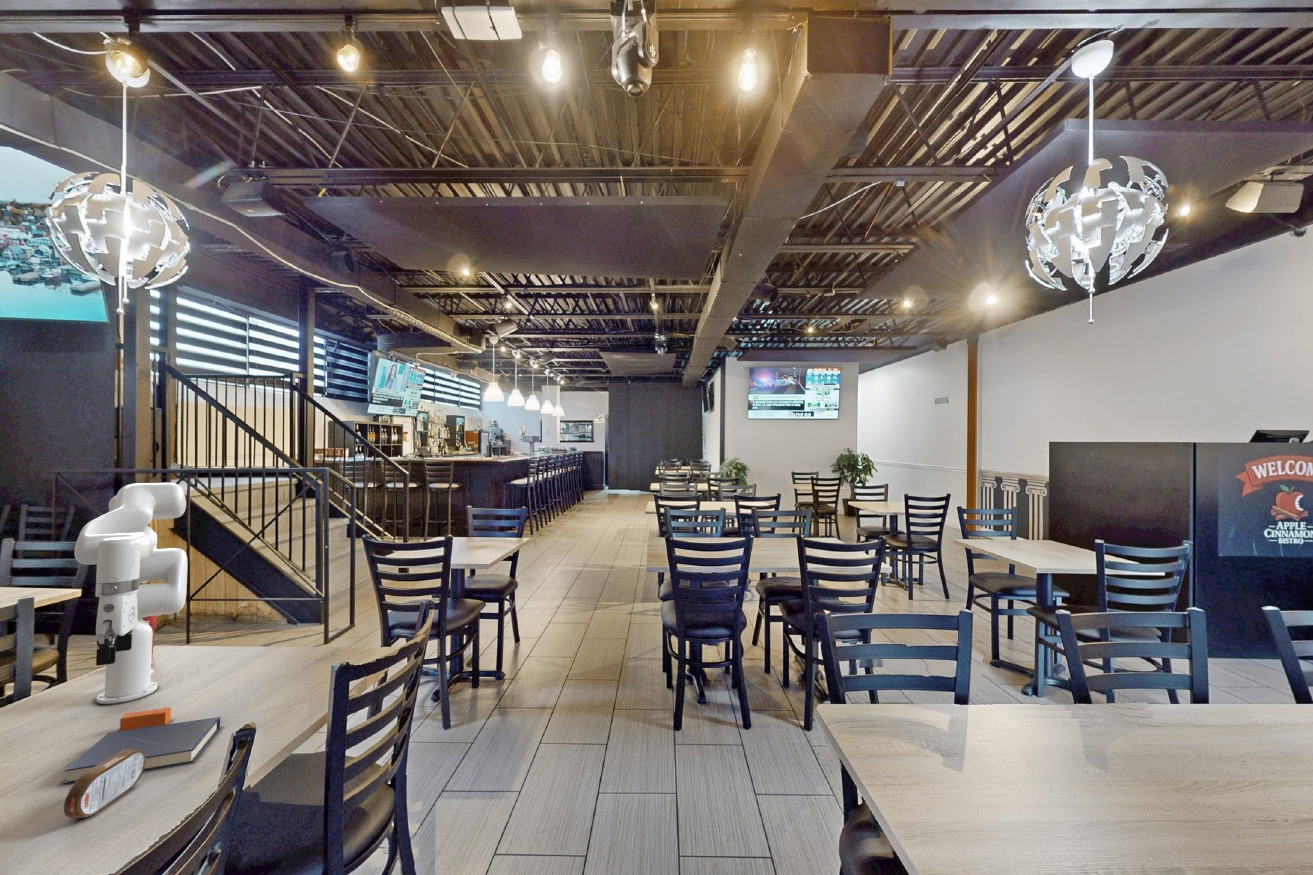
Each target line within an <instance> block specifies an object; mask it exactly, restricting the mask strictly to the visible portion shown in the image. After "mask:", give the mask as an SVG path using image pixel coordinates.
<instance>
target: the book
mask: <svg viewBox="0 0 1313 875" xmlns="http://www.w3.org/2000/svg"><path fill="white" fill-rule="evenodd" d="M220 729H221V716H216V717H209V718H203V719H196V720H188V721H182V722H175V723H168V724H167V725H160V726H153V727H146V728H140V729H133V730H126V731H120V730H119V731H113V732H108V733H106V734H105V735H103V737H102V738H101V739H99V740H98V741H97V742H96V743H94V745H92V746H91V747H90V748H88V750H86V751H85V752H84V753H83V754H81V755H80V756H79V757H78V758H76V759H75V761H73V762H72V763H70V765H69V766H67V767H66V768H65V769H64V772H66V773H67V774H66V780H65V781H64V782H63V785H67V784H74V783H75V782H76V781H77V780H78V779H79V778H80V777H81V776H82V775H83V774H84V773H85V772H87V771H89V770H90V769H92V768H94V767H95V766H97V765H99V764H100V763H102V762H104V761H106V760H107V759H109V758H111V757H112V756H114V755H116V754H117V753H119V752H121V751H123V750H125V749H132V750H141V751H143V752H144V753H145V754H146V761H145V766H144V771H143V772H145V771H151V770H157V769H163V768H168V767H175V766H180V765H187V764H192V763H194V762H195V761H196V760H197V758H198V757H199V756H200V755H201V753H202V752H203V751H204V749H205V748H206V747H207V746H208V745H209V743H210V742H211V741H212V740H213V738H214V737H215V736H216V734H217V733H218V732H219V731H220Z"/></svg>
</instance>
